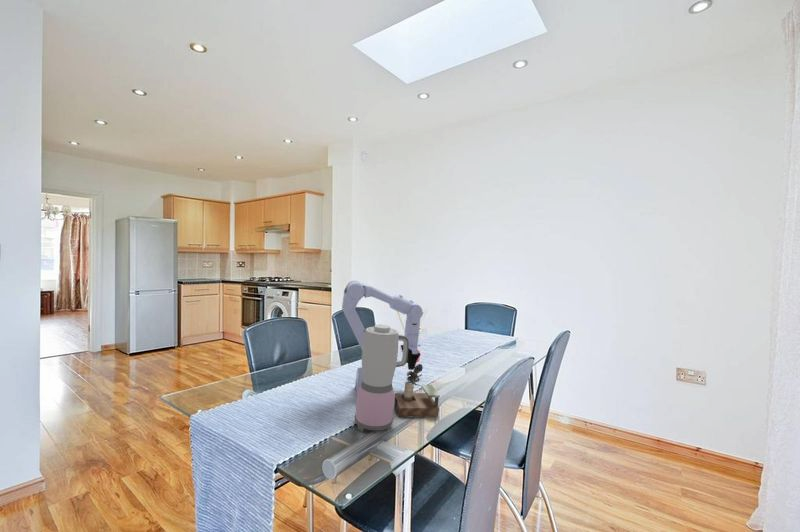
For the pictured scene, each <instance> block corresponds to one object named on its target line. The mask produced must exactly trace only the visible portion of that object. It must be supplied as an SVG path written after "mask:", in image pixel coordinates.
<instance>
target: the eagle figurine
mask: <svg viewBox="0 0 800 532" xmlns="http://www.w3.org/2000/svg"><path fill="white" fill-rule="evenodd" d="M423 368H424V367H423V364H420V363H418V364H417V365H415V368H414V370H409V371H407V373H406V376H408V377H409V375H411V376H410V377H411V378H410V379H412V382H413V381H414V382H416V380H418V378H419V379H420V377H422V376H423V374H422V373H421V374H420V375H418V374H419V373H420V372H422V371H423Z"/></svg>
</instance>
